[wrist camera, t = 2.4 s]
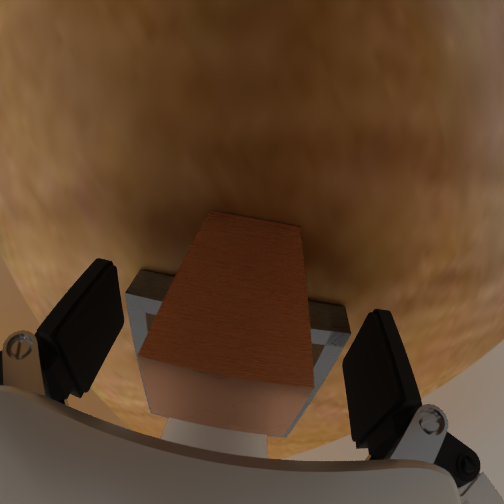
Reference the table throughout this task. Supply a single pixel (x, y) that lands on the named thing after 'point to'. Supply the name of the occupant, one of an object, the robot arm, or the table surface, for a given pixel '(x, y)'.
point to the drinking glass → (215, 438)
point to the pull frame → (235, 329)
